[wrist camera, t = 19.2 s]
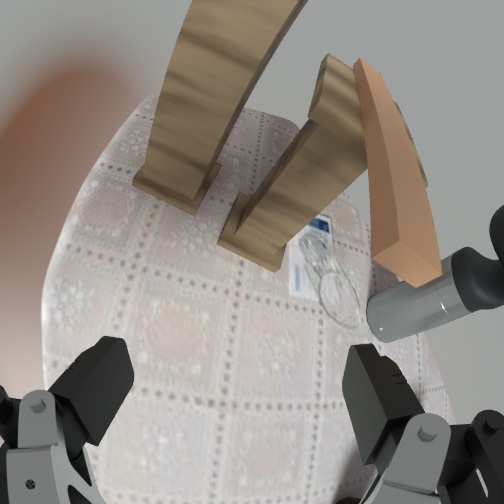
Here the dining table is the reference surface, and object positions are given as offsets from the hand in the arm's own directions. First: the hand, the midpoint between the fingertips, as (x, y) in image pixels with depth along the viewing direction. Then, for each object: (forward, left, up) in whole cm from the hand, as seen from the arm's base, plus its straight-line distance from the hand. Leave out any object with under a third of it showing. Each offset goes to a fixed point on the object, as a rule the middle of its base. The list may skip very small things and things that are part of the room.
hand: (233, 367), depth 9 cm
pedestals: (-10, -22, -22) cm, 33 cm away
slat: (-13, -14, +3) cm, 19 cm away
